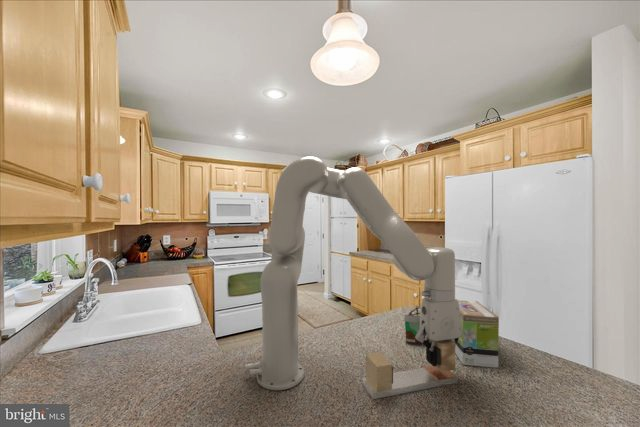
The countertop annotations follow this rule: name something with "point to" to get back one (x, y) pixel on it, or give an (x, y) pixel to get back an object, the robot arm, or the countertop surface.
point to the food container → (413, 326)
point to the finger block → (445, 355)
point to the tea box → (478, 335)
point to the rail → (400, 378)
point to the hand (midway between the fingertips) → (439, 361)
